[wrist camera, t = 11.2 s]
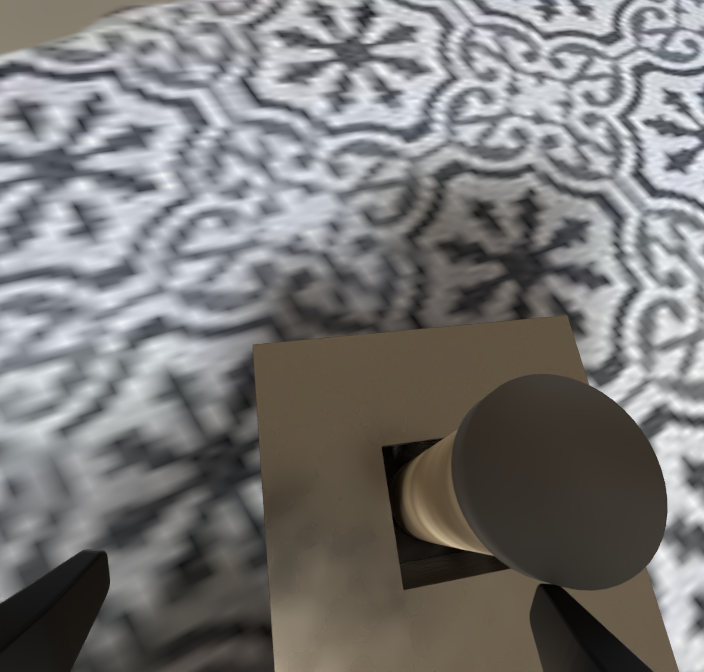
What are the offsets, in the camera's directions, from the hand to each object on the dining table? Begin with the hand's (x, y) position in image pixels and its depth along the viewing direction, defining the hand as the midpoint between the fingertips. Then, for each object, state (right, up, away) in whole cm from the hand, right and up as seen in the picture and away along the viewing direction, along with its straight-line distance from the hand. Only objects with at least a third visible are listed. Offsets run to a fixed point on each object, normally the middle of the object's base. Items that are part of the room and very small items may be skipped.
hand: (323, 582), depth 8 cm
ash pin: (+4, -3, +12) cm, 14 cm away
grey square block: (+4, -3, +13) cm, 14 cm away
